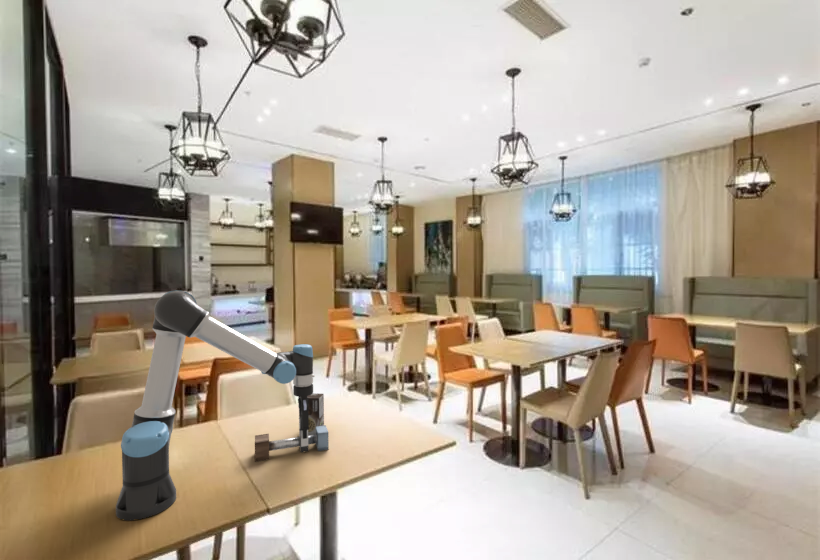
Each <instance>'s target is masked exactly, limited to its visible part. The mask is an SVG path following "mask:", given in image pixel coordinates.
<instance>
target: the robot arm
mask: <svg viewBox="0 0 820 560" xmlns="http://www.w3.org/2000/svg"><path fill="white" fill-rule="evenodd" d="M153 312H154V313H153V314H154V319H153V322H152V323H153V324H152V328H151V329H152V330H153V332H154V333H155V334H156V335H155V340H154V344H153V349H152V354H151V357H150V363H149V368H148V374H147V377H146V383H145V387H144V392H143V397H142V401H141V406H139V407H138V408H136V409H135V410H134V412H133V413H134V414H133V419H132V423H131V427H129V428H128V429H127V430H126V431H125V432H124V433H123V435H122V438H121V443H120V448H121V463H122V465H121V469H122V470H121V471H122V487H121V488H120V489H121V490H120V493H119V496H118V499H117V501H116V504H115V516H116V518H118V519H119V518H120V519H119V520H121V519H124V520H123V521H135V520H134V519H139V520H143V519H146V517H147V518H149V516H150V517H153V516H156V515H157V514H159V513H162V512H164V511H165V510H166V509H168V508H170V507H171V506H172V505H173V504H174V503H175V501H176V500H177V488H176V486H175V483H174V481H173V479H172V477H171V474H170V456H169V455H170V442H171V439H172V438H171V436H172V433H173V429H174V422H175V417H176V409H175V408H174V407H173V400H174V397H175V392H176V391H175V390H176V386H177V381H178V377H179V372H180V368H181V367H180V366H181V361H182V359H183V358H182V356H183V351H184V347H185V344H186V343H185V342H186V339H187V338H189V339H191V338H196V339H198V340H201V341H202V342H204V343H206V344H208V345H210V346H212V347H213V348H216V349H217V350H220V351H221V352H223V353H225V354H228V355H229V356H231V357H233V358H234V359H237V360H239V361H241V362H242V363H244V364H246V365H248V366H250V367H252V368H254V369H256V370H258V371H259V372H260V373H261V374H262V375H266V376H269V377H271V378H272V379H274V380H275V381H276V382H277V383H279V384H283V385H286V384H289V383H291V382H292V384H293V388H292V389H293V396H295V397H298V398H297V403H298V416H299V415H301V429H299V428H298V431H301V447H303V446H309V445H308V430H309V413H308V411H309V399H308V397H307V396H309V395H311V394H313V393H314V384H313V382H314V378H315V374H314V353H313V352H314V350H313V346H312V345H311V344H305V343H304V344H303V343H302V344H295V345H293V347H292V350H290V351H281V352H275V351H273V350H271V349H269V348H267V347H265V346H263V345H262V344H260V343H258V342H257V341H255V340H253V339H251V338H250V337H248V336H245V335H244V334H242V333H240V332H239V331H237V330H235V329H233V328H232V327H229V326H228V325H226V324H224V323H223V322H221V321H219V320H218V319H215V318H214V317H213V316H210V312H209V311H208V310H207V309H204V308H203V307H201V306H200V305H198V303H197V300H196V298H195V297H194V296H193V295H192V294H191V293H189V292H187V291H183V290H178V289H176V290H171V291H168V292H166V293H164V294H163V295H161V297H159V298H158V299H157V300H156V303H155V304H154V309H153ZM152 515H153V516H152ZM142 518H143V519H142Z"/></svg>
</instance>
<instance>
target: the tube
mask: <svg viewBox="0 0 820 560" xmlns="http://www.w3.org/2000/svg"><path fill="white" fill-rule="evenodd" d="M299 429H301V415H299V414H298V431H299ZM298 433H299V434H298V435H299V436H295V437H290V438H283V439H276V440H271V441H270V440H269V452H270V451H277V450H283V449H289V448H296V447H297V448H298V447H299V451H300V453H306V452H309V450H310V449H309V445H314V444H315V445H316V444H317V443H318V435H317V434H315V435H308V446H303V447H301V431H299V432H298Z"/></svg>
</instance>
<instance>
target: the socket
mask: <svg viewBox="0 0 820 560" xmlns="http://www.w3.org/2000/svg"><path fill="white" fill-rule="evenodd" d="M316 434H317V435H318V443H317V444H315V445H316V448H317V452H321V451H328V450H329V447H330V446H329V430H328V427H327V425H325V424H324V426H318V427H316Z"/></svg>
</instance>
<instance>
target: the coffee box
mask: <svg viewBox="0 0 820 560" xmlns="http://www.w3.org/2000/svg"><path fill="white" fill-rule="evenodd" d="M307 397H308V399H309V411H308V413H309V430H308V435H315V434H316V427H318V426H324V425H325V414H324V412H325V405H324V403H325V402H324V401H325V398H324V397H325V395H324V393H314V392H313V394H311V395H309V396H307Z"/></svg>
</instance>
